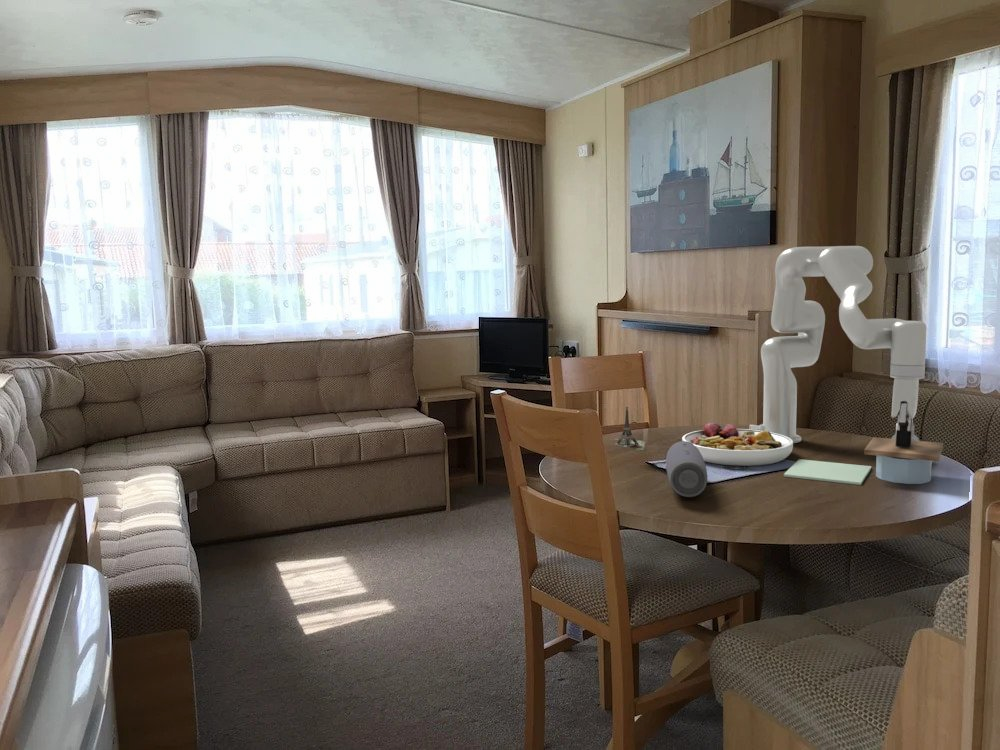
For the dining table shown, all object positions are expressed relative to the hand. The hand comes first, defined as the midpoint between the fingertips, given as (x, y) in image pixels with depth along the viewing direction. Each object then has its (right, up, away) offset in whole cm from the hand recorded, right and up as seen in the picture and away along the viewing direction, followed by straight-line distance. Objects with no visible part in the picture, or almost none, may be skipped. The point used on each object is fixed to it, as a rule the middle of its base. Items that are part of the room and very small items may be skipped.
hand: (904, 444), depth 197 cm
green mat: (-16, -8, +8) cm, 19 cm away
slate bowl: (0, -8, +1) cm, 8 cm away
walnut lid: (0, -2, 0) cm, 2 cm away
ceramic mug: (+10, -6, +16) cm, 20 cm away
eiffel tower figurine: (-61, -5, +46) cm, 76 cm away
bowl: (-33, -6, +29) cm, 44 cm away
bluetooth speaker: (-55, -11, -4) cm, 56 cm away
